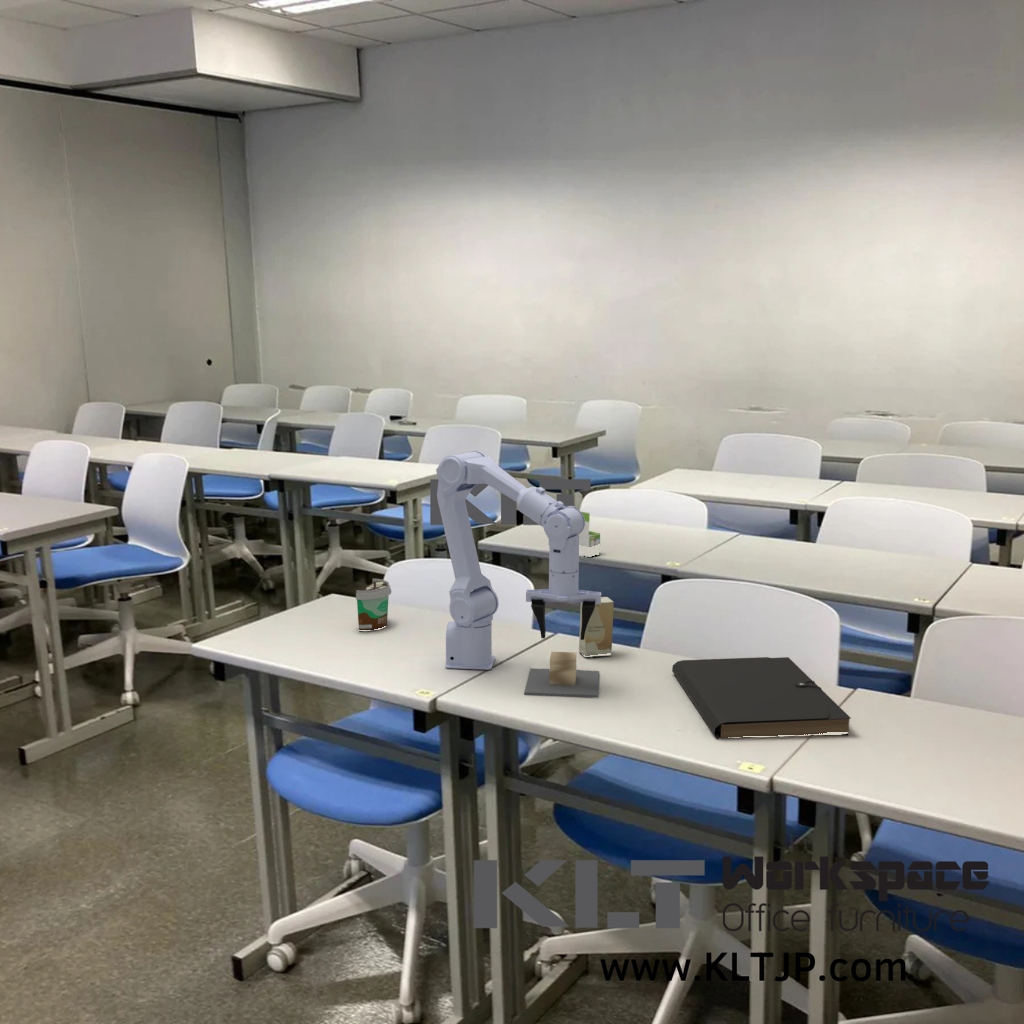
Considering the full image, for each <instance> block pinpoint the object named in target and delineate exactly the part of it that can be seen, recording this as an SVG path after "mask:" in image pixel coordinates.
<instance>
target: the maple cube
mask: <svg viewBox="0 0 1024 1024" xmlns="http://www.w3.org/2000/svg"><path fill="white" fill-rule="evenodd" d="M549 669H550V683H549V684H561V685H575V681H576V670H577V652H574V651H573V652H572V651H551V653H550V657H549Z"/></svg>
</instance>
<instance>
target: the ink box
mask: <svg viewBox="0 0 1024 1024" xmlns="http://www.w3.org/2000/svg"><path fill="white" fill-rule="evenodd" d="M579 511H580V512H581V513H582V514H583V516H584V519H585V526H584V529H583V531H582V532H581V533H580V534H578V535H579V545H581V546H586V547H592V546H595V545H598V544H600V545H601V533H600V532H597V531H590V512H586V511H583V510H582V511H581V510H579Z"/></svg>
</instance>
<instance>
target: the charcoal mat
mask: <svg viewBox="0 0 1024 1024" xmlns="http://www.w3.org/2000/svg"><path fill="white" fill-rule="evenodd" d="M599 681H600V671H599V670H589V669H588V670H587V669H586V670H584V669H583V670H581V669H576V681H575V685H561V684H549V683H550V668H535V667H534V668H532V667H531V668H529V673H528V677H527V679H526V685H525V687H524V688H525V689H524V692H523V695H524V696H543V695H545V696H547V697H548V696H549V697H571V698H592V697H598V696H599V684H598V683H600V682H599ZM598 698H599V697H598Z"/></svg>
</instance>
